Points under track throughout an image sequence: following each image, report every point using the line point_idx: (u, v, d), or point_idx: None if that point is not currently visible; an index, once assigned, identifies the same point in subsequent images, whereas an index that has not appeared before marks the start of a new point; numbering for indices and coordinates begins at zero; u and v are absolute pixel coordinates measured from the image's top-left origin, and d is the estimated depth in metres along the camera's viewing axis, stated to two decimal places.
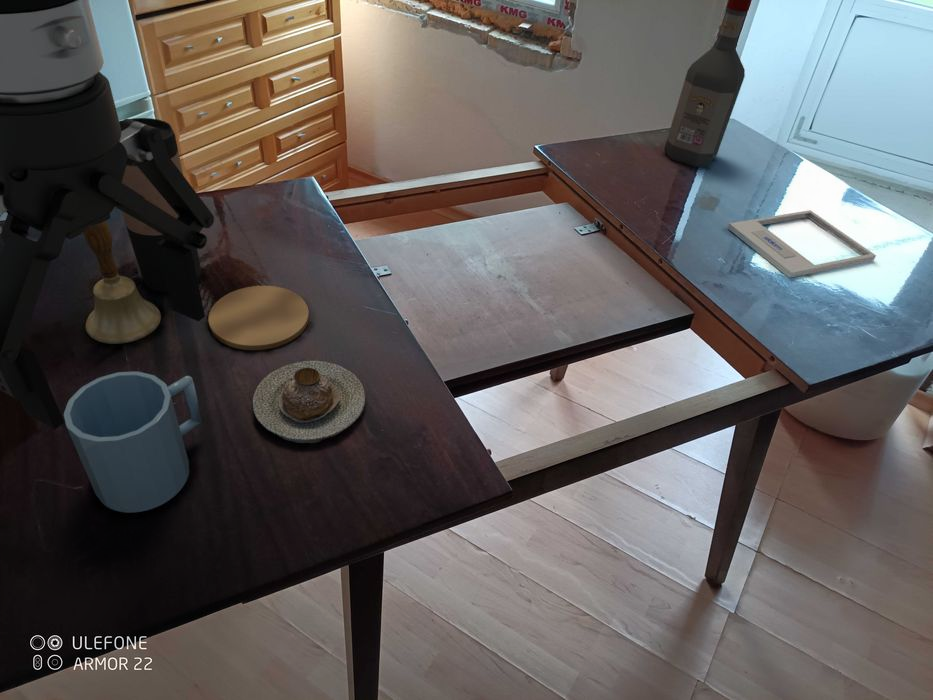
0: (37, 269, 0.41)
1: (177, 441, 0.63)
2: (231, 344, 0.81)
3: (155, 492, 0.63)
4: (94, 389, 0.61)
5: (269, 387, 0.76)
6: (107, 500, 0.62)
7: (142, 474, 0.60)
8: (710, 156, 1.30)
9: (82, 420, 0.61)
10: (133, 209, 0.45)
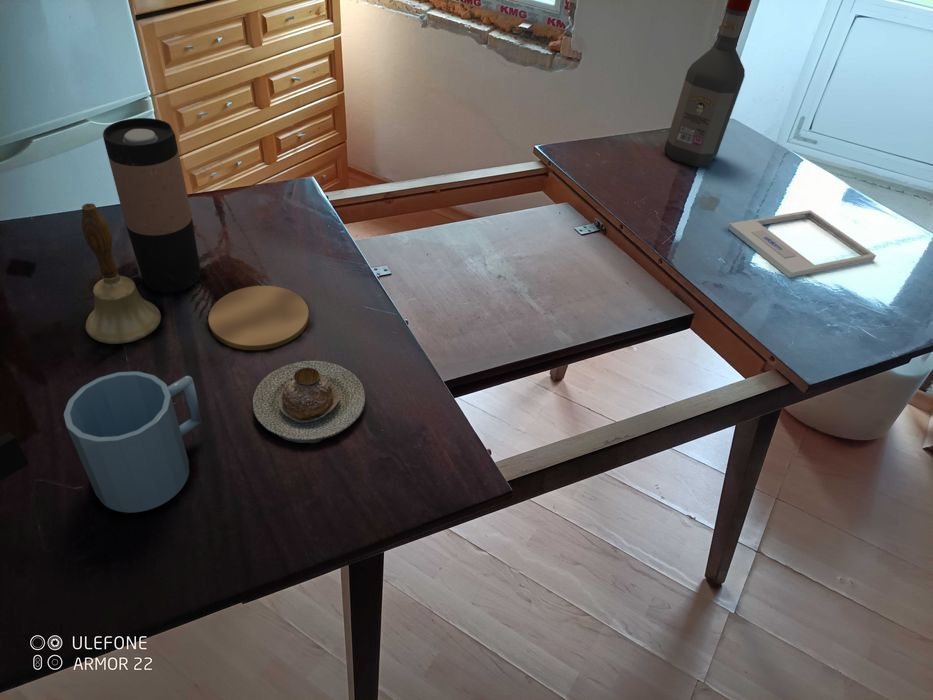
0: None
1: (177, 441, 0.63)
2: (231, 344, 0.81)
3: (155, 492, 0.63)
4: (94, 389, 0.61)
5: (269, 387, 0.76)
6: (107, 500, 0.62)
7: (142, 474, 0.60)
8: (710, 156, 1.30)
9: (82, 420, 0.61)
10: None
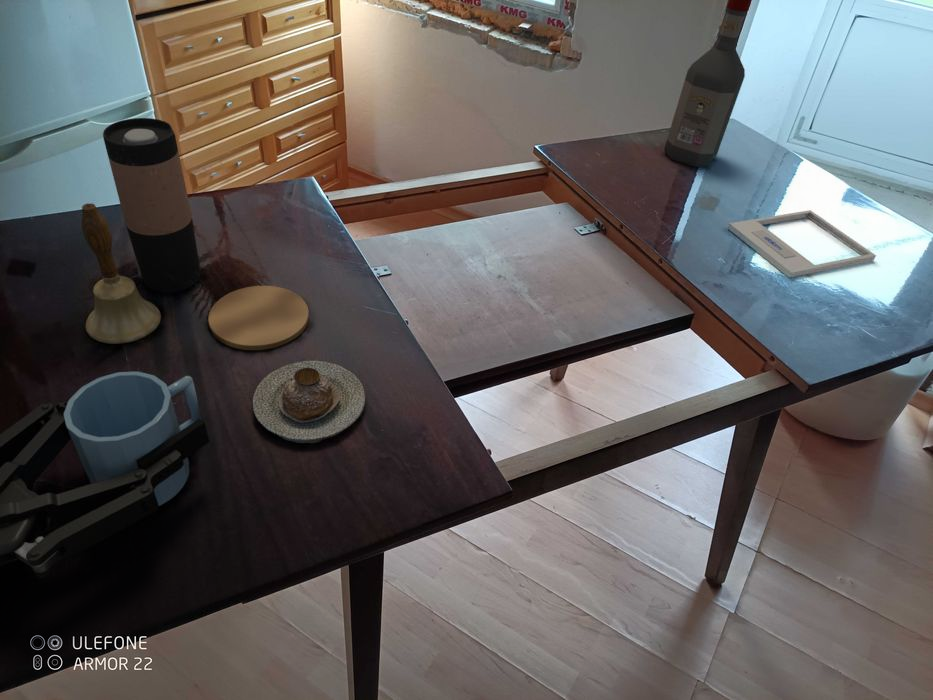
0: None
1: None
2: (231, 344, 0.81)
3: (155, 492, 0.63)
4: (94, 389, 0.61)
5: (269, 387, 0.76)
6: None
7: None
8: (710, 156, 1.30)
9: (82, 420, 0.61)
10: None
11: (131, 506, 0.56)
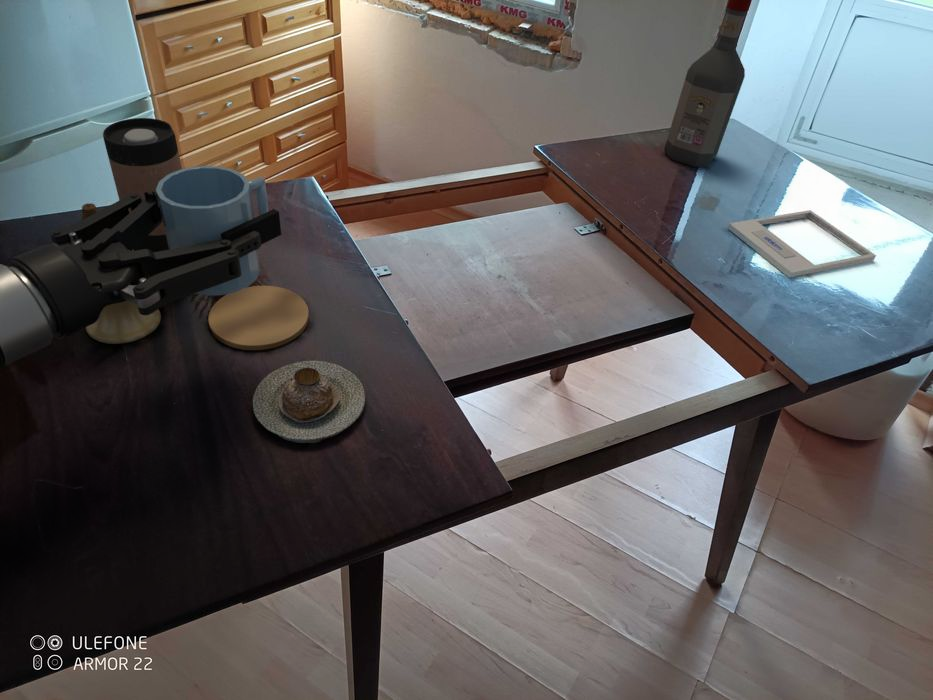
0: None
1: None
2: (231, 344, 0.81)
3: None
4: (179, 177, 0.67)
5: (269, 387, 0.76)
6: None
7: None
8: (710, 156, 1.30)
9: None
10: None
11: (220, 264, 0.62)
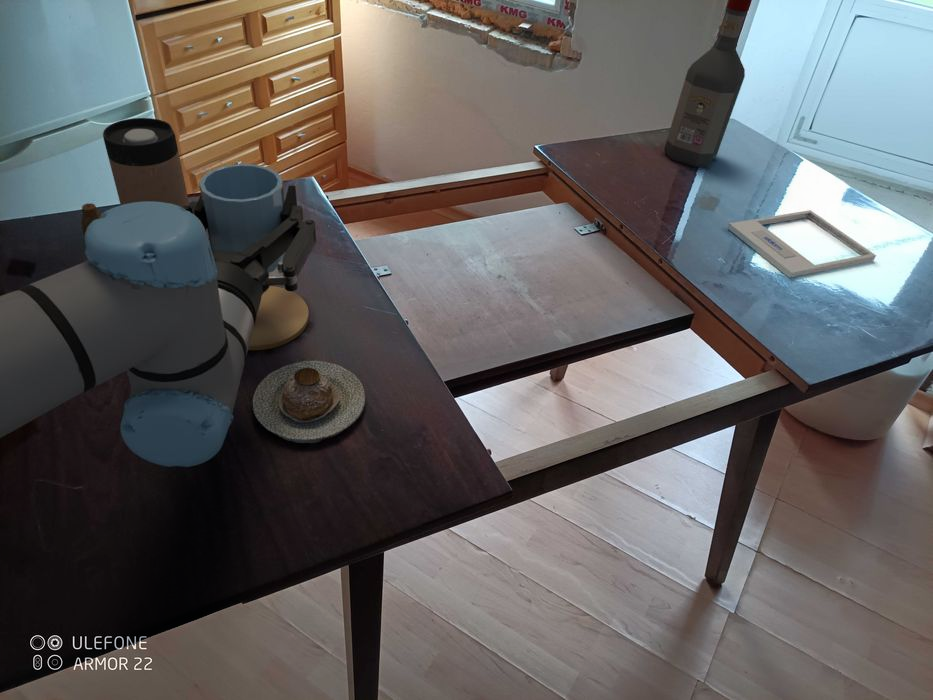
0: None
1: None
2: None
3: None
4: (206, 184, 0.73)
5: (269, 387, 0.76)
6: None
7: None
8: (710, 156, 1.30)
9: None
10: None
11: (311, 233, 0.73)
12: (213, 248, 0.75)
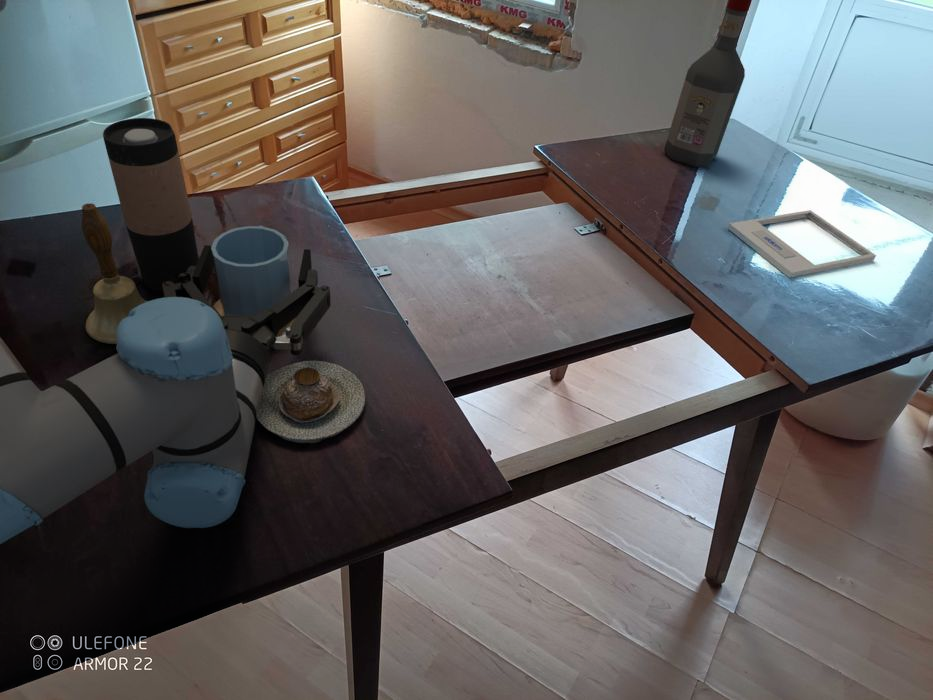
0: None
1: None
2: None
3: None
4: (217, 248, 0.78)
5: (269, 387, 0.76)
6: None
7: (286, 290, 0.81)
8: (710, 156, 1.30)
9: None
10: None
11: (324, 299, 0.77)
12: (223, 305, 0.81)
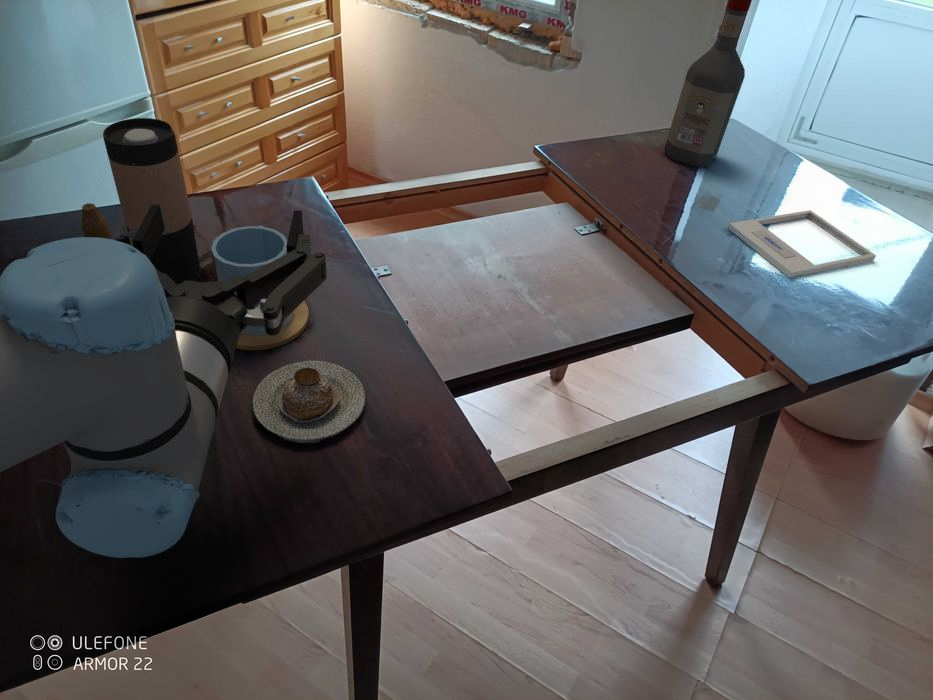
0: None
1: None
2: None
3: None
4: (217, 248, 0.78)
5: (269, 387, 0.76)
6: None
7: None
8: (710, 156, 1.30)
9: None
10: None
11: (316, 268, 0.62)
12: None
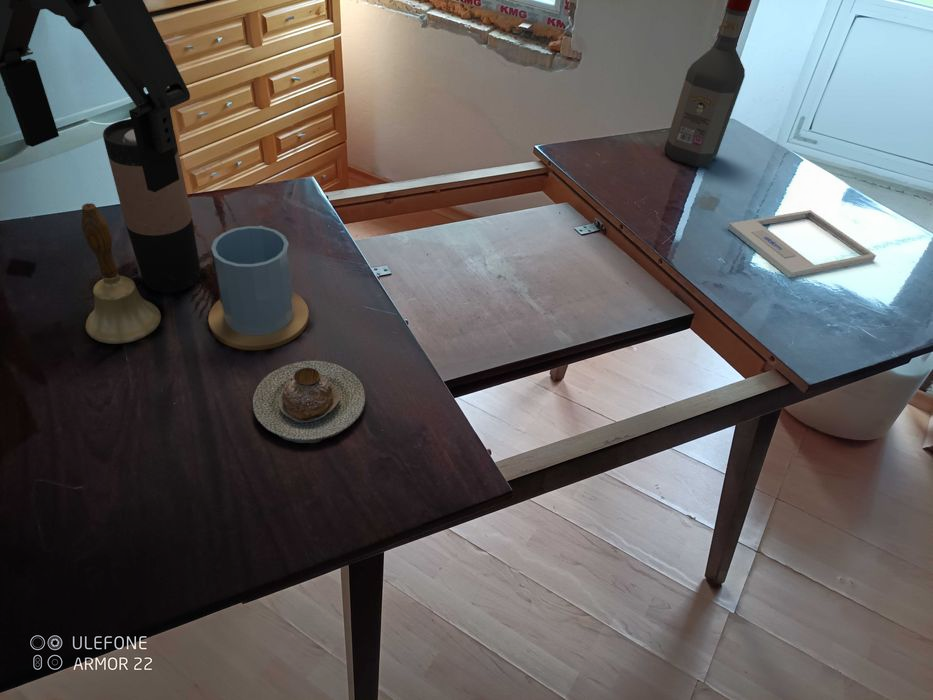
0: (5, 8, 0.51)
1: None
2: (231, 344, 0.81)
3: (290, 306, 0.83)
4: (217, 248, 0.78)
5: (269, 387, 0.76)
6: (262, 326, 0.81)
7: (286, 290, 0.81)
8: (710, 156, 1.30)
9: None
10: (67, 19, 0.48)
11: (175, 72, 0.50)
12: (223, 305, 0.81)
